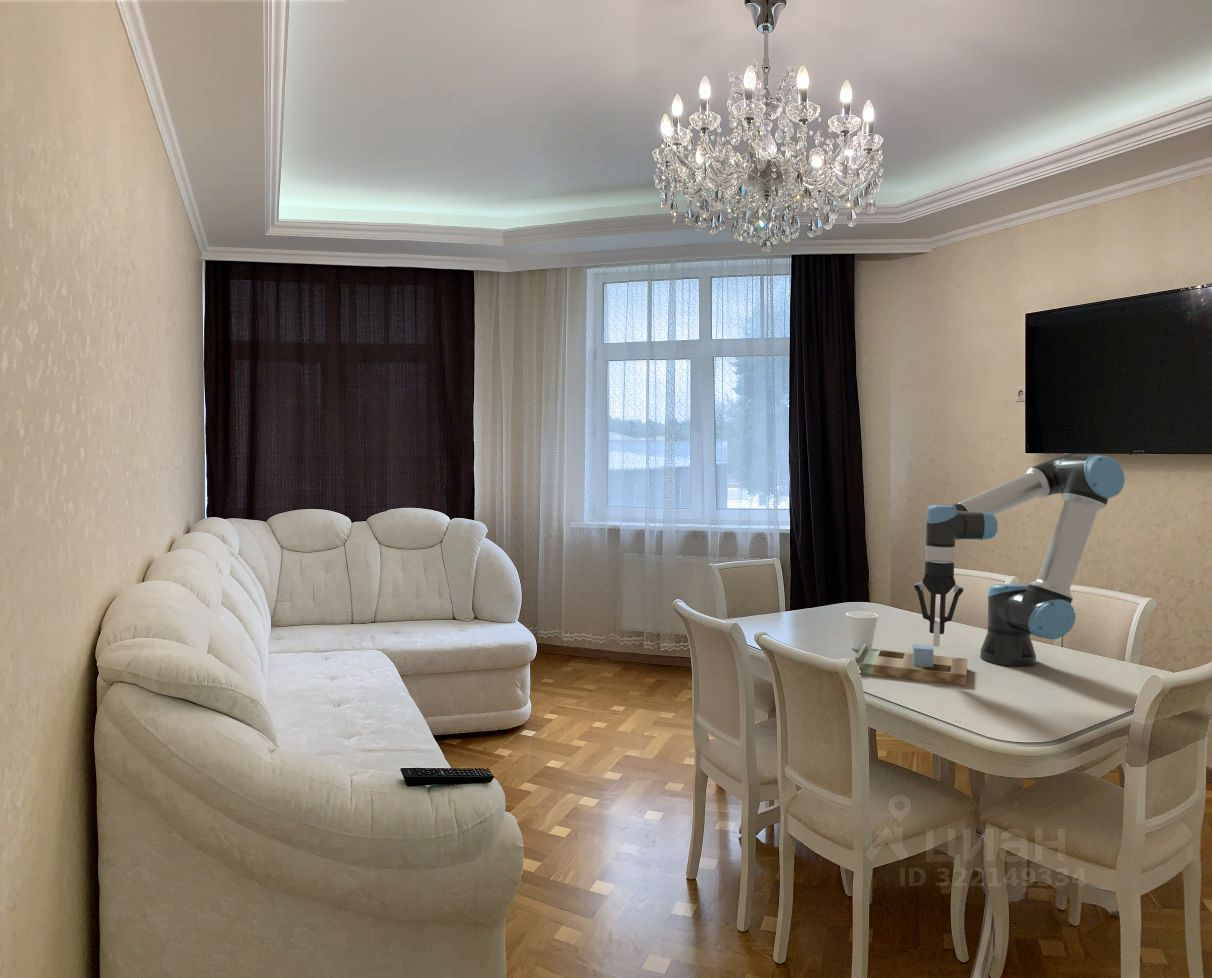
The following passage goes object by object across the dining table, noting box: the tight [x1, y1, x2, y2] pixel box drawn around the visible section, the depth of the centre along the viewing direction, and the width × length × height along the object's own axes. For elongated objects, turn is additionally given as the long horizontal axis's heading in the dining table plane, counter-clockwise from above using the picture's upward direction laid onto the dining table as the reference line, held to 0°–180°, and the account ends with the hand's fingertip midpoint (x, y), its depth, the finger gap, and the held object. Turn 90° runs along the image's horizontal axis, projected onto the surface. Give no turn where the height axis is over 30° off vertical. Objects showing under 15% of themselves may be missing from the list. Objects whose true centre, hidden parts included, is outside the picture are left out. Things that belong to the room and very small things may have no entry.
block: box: [912, 643, 934, 667], centre depth 233 cm, size 5×5×5 cm
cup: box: [845, 610, 879, 651], centre depth 262 cm, size 10×10×11 cm
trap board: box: [854, 643, 968, 687], centre depth 237 cm, size 29×18×4 cm, turn 66°
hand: (936, 645), depth 230 cm, fingers closed
